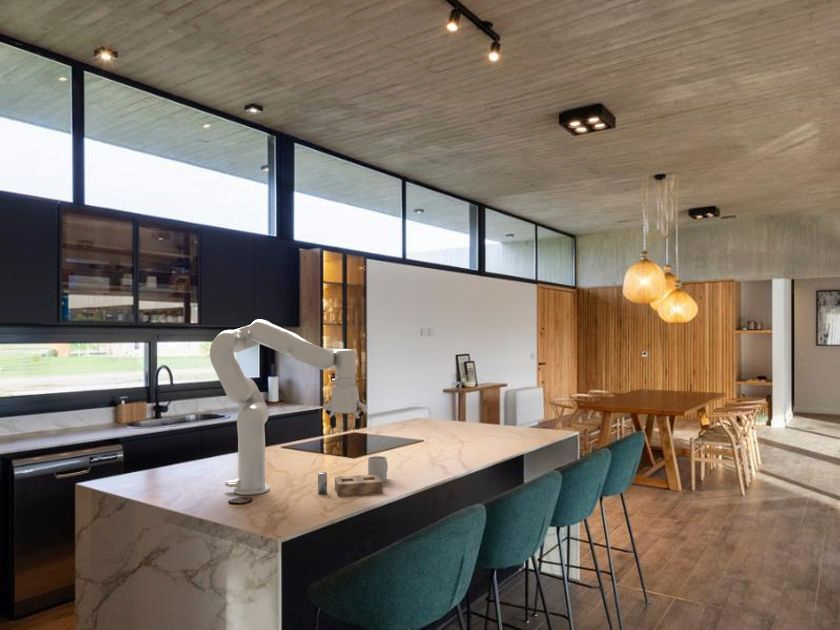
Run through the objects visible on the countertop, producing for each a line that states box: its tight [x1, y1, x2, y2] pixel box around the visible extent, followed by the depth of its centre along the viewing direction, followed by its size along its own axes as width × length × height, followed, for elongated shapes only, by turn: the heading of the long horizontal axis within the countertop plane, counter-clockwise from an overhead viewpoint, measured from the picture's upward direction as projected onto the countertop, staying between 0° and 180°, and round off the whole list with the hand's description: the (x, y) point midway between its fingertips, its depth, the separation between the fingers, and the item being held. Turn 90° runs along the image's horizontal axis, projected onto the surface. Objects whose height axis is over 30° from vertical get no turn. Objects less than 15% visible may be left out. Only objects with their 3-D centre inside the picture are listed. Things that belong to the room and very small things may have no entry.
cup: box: [367, 455, 389, 483], centre depth 240 cm, size 7×10×9 cm
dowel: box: [317, 471, 328, 495], centre depth 222 cm, size 3×3×7 cm
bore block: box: [334, 474, 384, 497], centre depth 225 cm, size 16×12×4 cm
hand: (345, 428), depth 229 cm, fingers open, 9 cm apart
